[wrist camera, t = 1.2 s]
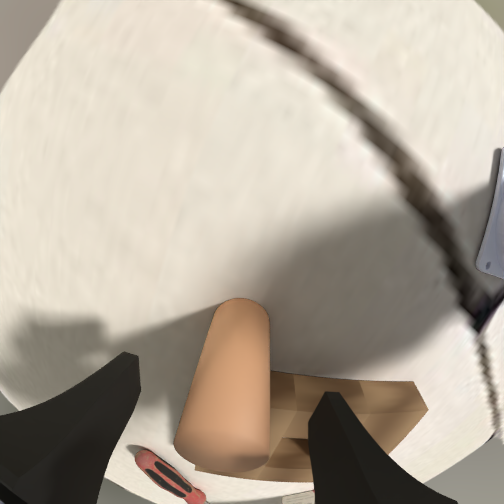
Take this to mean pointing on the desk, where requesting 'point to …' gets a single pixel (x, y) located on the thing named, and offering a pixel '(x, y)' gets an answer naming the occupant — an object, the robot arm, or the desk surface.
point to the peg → (230, 393)
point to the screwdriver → (168, 477)
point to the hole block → (305, 402)
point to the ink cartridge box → (300, 498)
